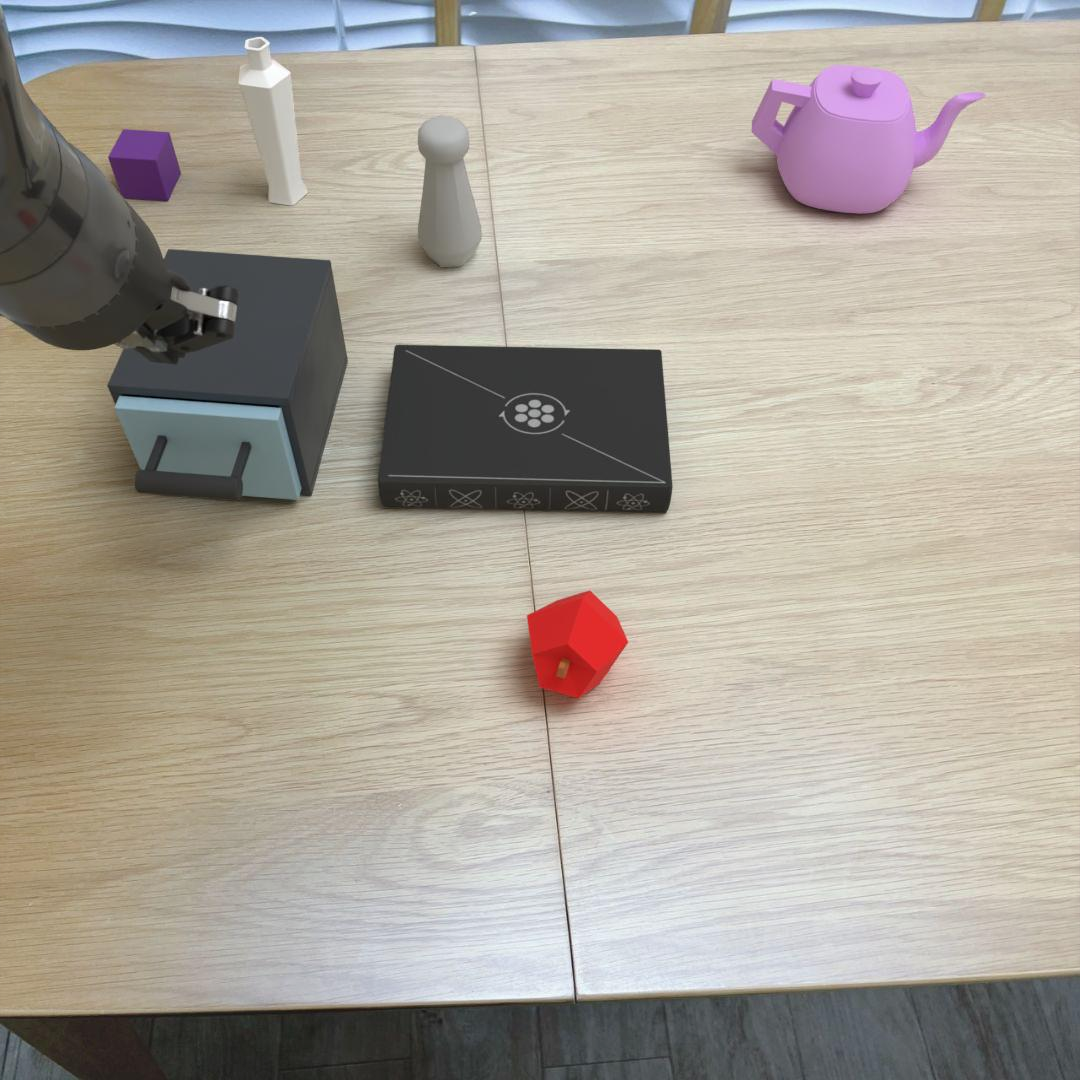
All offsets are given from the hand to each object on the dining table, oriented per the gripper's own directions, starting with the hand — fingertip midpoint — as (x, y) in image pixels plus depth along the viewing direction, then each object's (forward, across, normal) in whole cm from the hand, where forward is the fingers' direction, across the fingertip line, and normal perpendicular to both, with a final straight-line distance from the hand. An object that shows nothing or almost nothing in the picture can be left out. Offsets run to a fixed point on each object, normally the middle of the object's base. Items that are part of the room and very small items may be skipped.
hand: (167, 346), depth 65 cm
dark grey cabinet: (+23, 0, 0) cm, 23 cm away
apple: (+11, -26, +16) cm, 33 cm away
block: (+39, +16, -25) cm, 49 cm away
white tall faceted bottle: (+38, +4, -25) cm, 46 cm away
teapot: (+39, -50, -33) cm, 72 cm away
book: (+22, -22, -1) cm, 31 cm away
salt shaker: (+34, -13, -19) cm, 41 cm away
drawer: (+20, 0, +3) cm, 20 cm away
